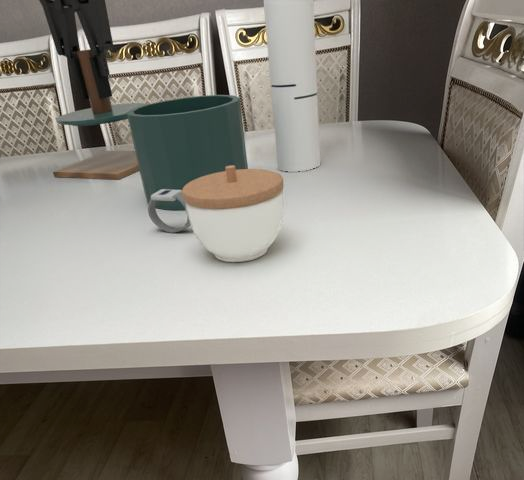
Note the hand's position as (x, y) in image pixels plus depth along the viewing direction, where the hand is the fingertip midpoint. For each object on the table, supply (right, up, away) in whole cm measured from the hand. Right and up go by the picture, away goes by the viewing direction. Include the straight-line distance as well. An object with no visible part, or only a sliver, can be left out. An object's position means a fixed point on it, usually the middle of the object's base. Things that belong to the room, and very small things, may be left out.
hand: (97, 97), depth 95 cm
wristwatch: (+19, -31, -28) cm, 46 cm away
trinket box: (+28, -35, -36) cm, 57 cm away
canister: (+20, -22, -15) cm, 33 cm away
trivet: (+1, -10, +7) cm, 12 cm away
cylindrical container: (+36, -15, -7) cm, 40 cm away
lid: (+1, -2, +2) cm, 3 cm away
